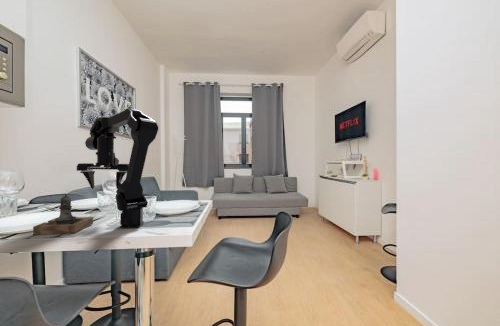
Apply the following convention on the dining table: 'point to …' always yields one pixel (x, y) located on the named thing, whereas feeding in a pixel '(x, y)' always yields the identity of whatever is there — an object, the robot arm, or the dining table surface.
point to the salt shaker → (65, 211)
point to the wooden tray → (63, 226)
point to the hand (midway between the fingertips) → (105, 188)
